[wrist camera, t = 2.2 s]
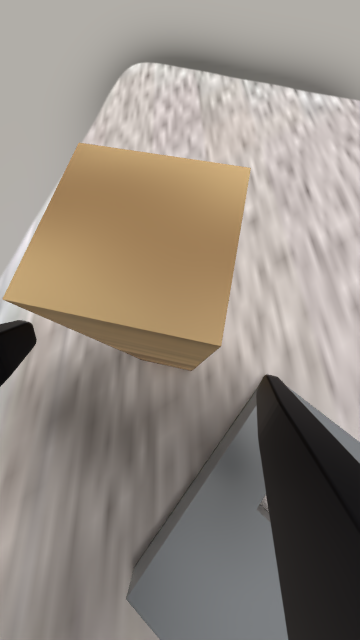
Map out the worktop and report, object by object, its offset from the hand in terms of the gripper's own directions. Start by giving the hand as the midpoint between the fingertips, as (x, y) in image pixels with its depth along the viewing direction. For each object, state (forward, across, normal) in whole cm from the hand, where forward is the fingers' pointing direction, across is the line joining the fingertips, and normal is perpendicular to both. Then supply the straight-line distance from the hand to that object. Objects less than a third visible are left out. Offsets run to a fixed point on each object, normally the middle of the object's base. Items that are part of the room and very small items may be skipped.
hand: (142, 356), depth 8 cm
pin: (+9, 0, +5) cm, 10 cm away
